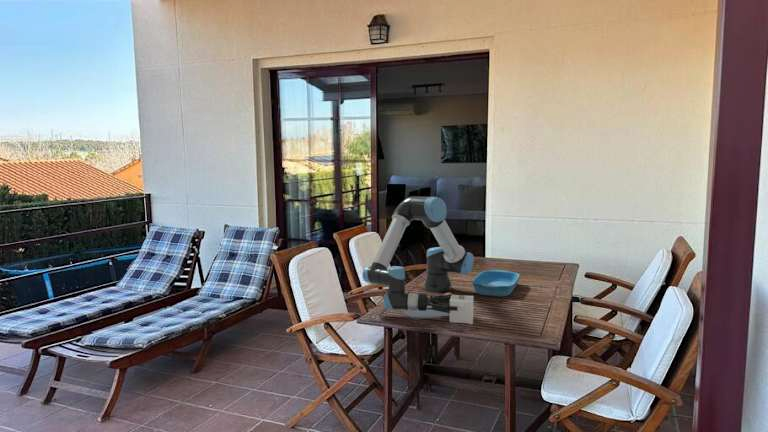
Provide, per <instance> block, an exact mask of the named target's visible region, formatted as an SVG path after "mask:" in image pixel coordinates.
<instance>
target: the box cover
mask: <svg viewBox="0 0 768 432" xmlns="http://www.w3.org/2000/svg"><path fill="white" fill-rule="evenodd" d="M450 304H451V305H465V312H460V311H450V313H449V314H450V315H449V323H458V324H468V325H473V324H474V295H464V294H454V295H451V298H450Z"/></svg>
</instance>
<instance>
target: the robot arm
mask: <svg viewBox="0 0 768 432" xmlns="http://www.w3.org/2000/svg"><path fill="white" fill-rule="evenodd" d="M392 213H393V214H392V216H391V219H392V220H391V222H390V224H389V226H388V229H387V231H386V232H385V236H384V237H383V239H382V242H381V245H380V246H379V248H378V250H377V253H376V255H375V257H374V259H373V261H372V263H371V266H366V267H365V268H364V269H363V270H362V273H361V274H362V275H361V276H362V279H363V281H364V282H365V283H369V284H372V285H378V286H382V287H383V286H385V287H388V292H385V293H384V295H383V307H384V308H385V309H388V310H393V311H395V310H396V311H397V310H399V311H400V310H401V311H409V310H411V311H413V310H417V309H418V310H419V311H426V310H427V309H428V310H436V311H441V312H446V313H448V314H450V311H460V312H465V305H451V304H450V305H447V304H443V303H446V302H450V298H451V295H452V294H453V293H452V294H450V295H444V294H442V295H430V297H428V294H427V293H415V292H414V293H412V292H411V293H410V292H409V293H408V292H407V293H406V275H405V273H406V272H405V271H406V270H405V268H404V267H403V266H399V265H398V266H397V265H392V266H390V263H391V262H392V259H393V257H394V254H395V252H396V250H397V249H398V246H399V244H400V241H401V239H402V238H403V235H404V232H405V230H406V228H407V227H408V226H410V225H411V222H412V221H421V222H422V224H423V225H424V227H426V228H427V229H430V231H431V233H432V234H433V236H434V238H435V240H436V241H437V243H438V245H439V246H437V247H430V248H428V249H427V250H426V277H425V280H424V283H423V289H424V290H425V291H428V292H434V293H435V292H436V293H441V292H448V291H451V290H452V283H451V281H450V277H449V273H454V274H459V275H467V274H468V275H469V273H471V271H472V269H473V267H474V263H475V262H474V259H475V258H474V254H473V253H471V252H467V251H466V249H465V248H464V247H463V245H459V243H458V241H457V238H455V236H454V234H453V232H452V230H451V228H450V227H449V225H448V223H447V221H446V217H447V213H448V210H447V204H446V203H445V201H444V200H443V199H442V198H441V197H437V196H417V195H413V196H409V197H406V198H405V199H404V200H402V202H400V203H399V204H398V205H397V207H396V208H395V210H394V211H393V212H392ZM389 266H390V267H389Z"/></svg>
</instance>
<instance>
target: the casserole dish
mask: <svg viewBox="0 0 768 432" xmlns="http://www.w3.org/2000/svg"><path fill="white" fill-rule="evenodd" d="M519 279H520V274H519V273H517V272H513V271H509V270H497V269H495V270H491V269H490V270H489V269H488V270H483V271H480V272H479V273H478V274H477V275H476V276H475V277H474V278H473V279H472V281H471V283H472V284H473V288H474V290H475V292H476V293H477V294H478V295H483V296H491V297H508V296H509V295H511V294H512V293H513V291H514V289H515V288H516V286H517V284H518V282H519Z"/></svg>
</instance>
